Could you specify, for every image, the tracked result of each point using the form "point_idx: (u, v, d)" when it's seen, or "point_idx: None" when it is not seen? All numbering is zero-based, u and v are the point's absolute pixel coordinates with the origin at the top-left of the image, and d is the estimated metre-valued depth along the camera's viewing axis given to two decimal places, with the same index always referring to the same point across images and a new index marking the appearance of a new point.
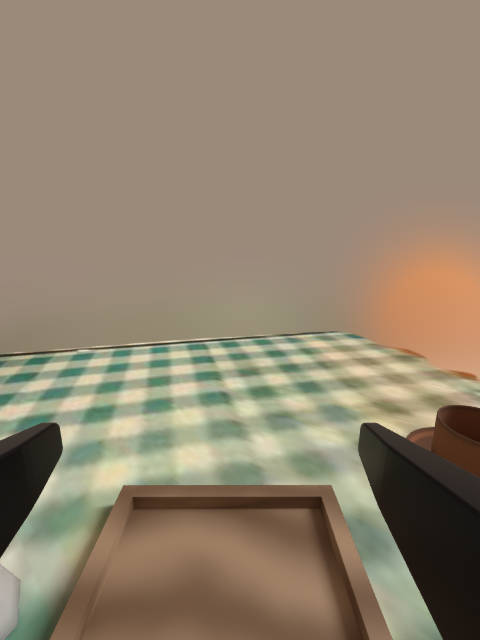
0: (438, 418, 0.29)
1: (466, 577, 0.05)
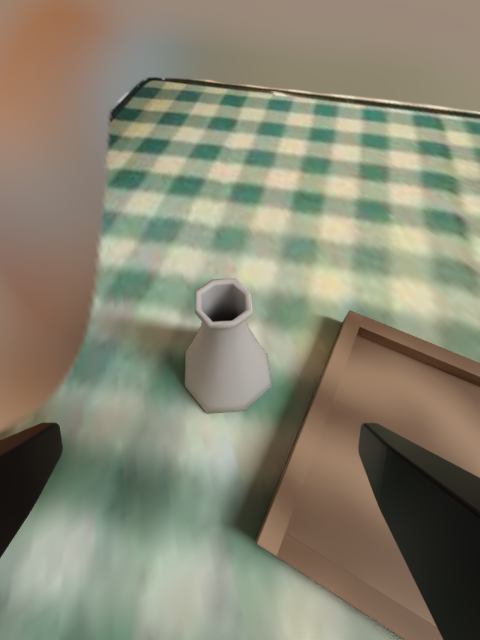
0: None
1: (466, 577, 0.05)
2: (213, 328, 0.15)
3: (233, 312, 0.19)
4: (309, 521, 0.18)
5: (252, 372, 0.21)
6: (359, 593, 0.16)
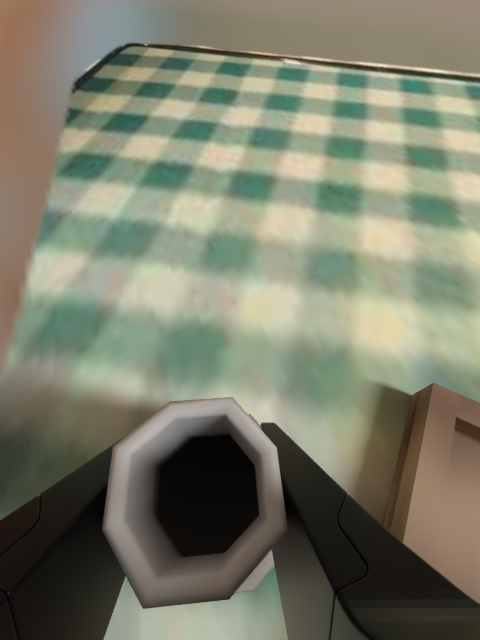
0: None
1: (295, 578, 0.05)
2: None
3: (229, 433, 0.09)
4: None
5: None
6: None
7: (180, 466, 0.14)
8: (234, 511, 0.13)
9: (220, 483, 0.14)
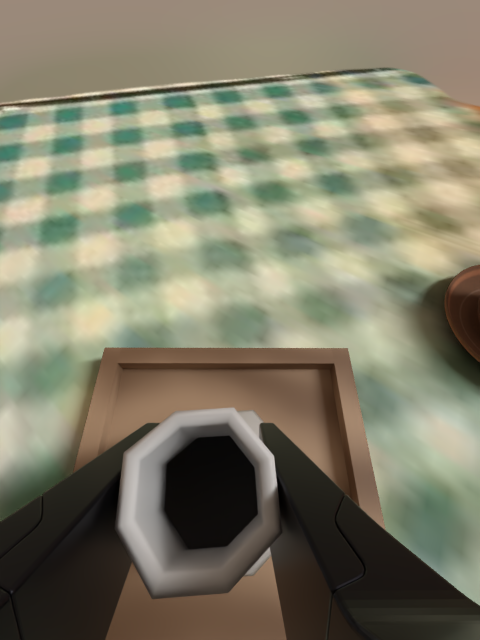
0: None
1: (293, 578, 0.05)
2: None
3: None
4: None
5: None
6: None
7: (185, 458, 0.15)
8: (236, 501, 0.14)
9: (223, 475, 0.15)
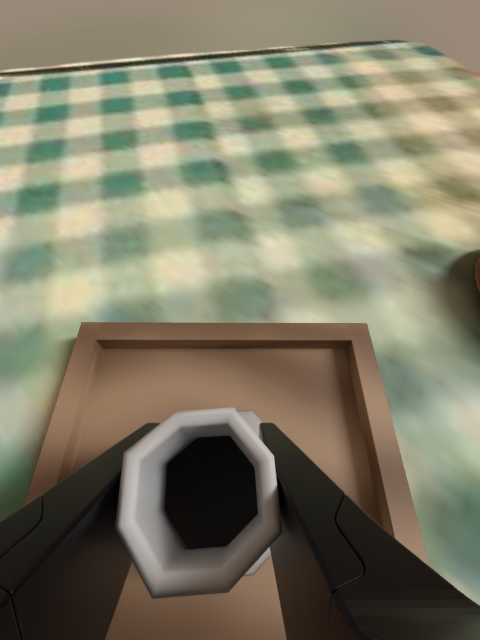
0: None
1: (293, 578, 0.05)
2: None
3: None
4: None
5: None
6: None
7: (185, 458, 0.15)
8: (236, 501, 0.14)
9: (223, 475, 0.15)
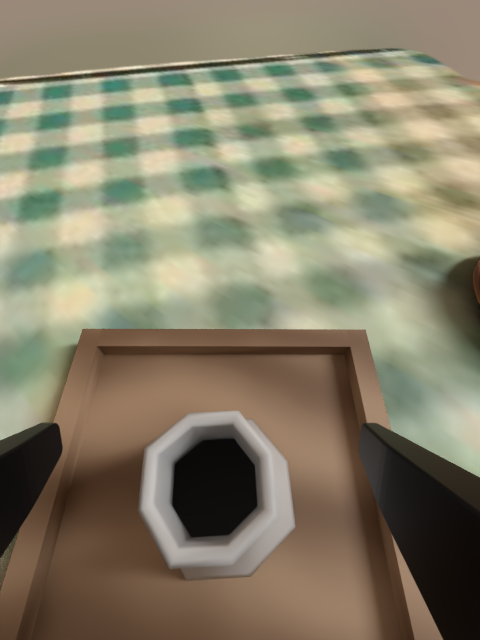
0: None
1: (466, 577, 0.05)
2: None
3: (234, 438, 0.10)
4: None
5: (266, 532, 0.12)
6: None
7: (187, 464, 0.16)
8: (235, 505, 0.15)
9: (223, 481, 0.15)
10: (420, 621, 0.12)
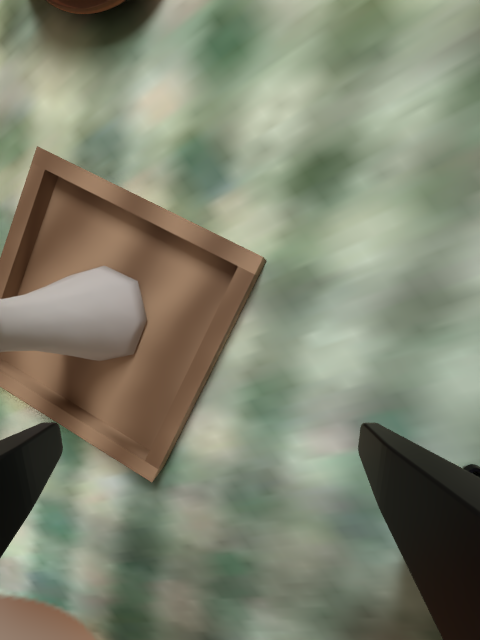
0: None
1: (466, 577, 0.05)
2: None
3: None
4: (145, 430, 0.23)
5: (100, 303, 0.18)
6: (175, 412, 0.21)
7: None
8: None
9: None
10: (196, 238, 0.19)
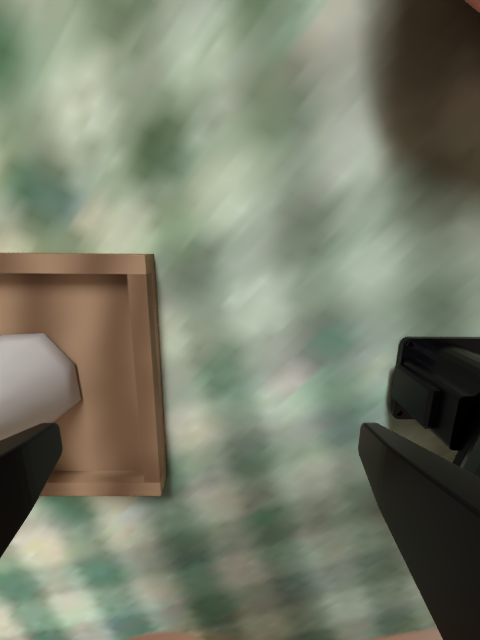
0: None
1: (466, 577, 0.05)
2: None
3: None
4: (131, 456, 0.23)
5: (13, 374, 0.18)
6: (147, 429, 0.21)
7: None
8: None
9: None
10: (73, 267, 0.18)
